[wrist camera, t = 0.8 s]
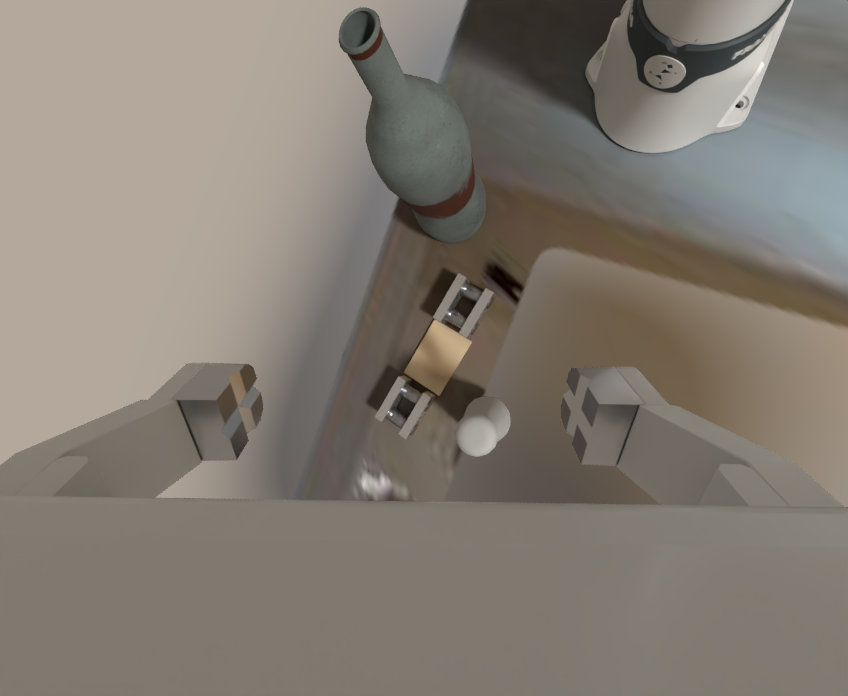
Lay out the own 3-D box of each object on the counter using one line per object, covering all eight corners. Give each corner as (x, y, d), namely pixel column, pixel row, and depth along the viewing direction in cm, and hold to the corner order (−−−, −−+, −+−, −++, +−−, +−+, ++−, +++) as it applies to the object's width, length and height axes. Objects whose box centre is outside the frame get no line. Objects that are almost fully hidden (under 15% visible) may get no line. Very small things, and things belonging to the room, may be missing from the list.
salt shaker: (458, 421, 50) (434, 442, 38) (481, 386, 49) (464, 395, 37) (496, 447, 49) (484, 478, 36) (520, 411, 48) (516, 429, 36)
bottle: (455, 262, 51) (355, 136, 22) (410, 220, 53) (264, 54, 24) (504, 208, 49) (466, -3, 20) (456, 167, 51) (358, -79, 22)
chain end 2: (462, 277, 51) (457, 272, 48) (496, 296, 49) (494, 293, 46) (437, 319, 51) (432, 316, 48) (471, 339, 50) (467, 338, 47)
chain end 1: (405, 374, 52) (397, 375, 50) (437, 395, 51) (431, 398, 48) (382, 413, 53) (374, 416, 50) (413, 435, 52) (406, 439, 49)
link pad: (435, 319, 51) (434, 319, 51) (472, 341, 50) (472, 341, 50) (404, 372, 53) (403, 372, 52) (439, 395, 51) (439, 395, 51)
